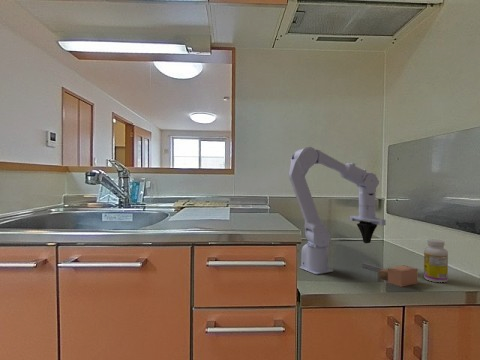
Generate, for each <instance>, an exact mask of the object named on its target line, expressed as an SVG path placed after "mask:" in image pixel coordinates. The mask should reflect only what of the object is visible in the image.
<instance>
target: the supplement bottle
mask: <svg viewBox="0 0 480 360" xmlns="http://www.w3.org/2000/svg"><path fill="white" fill-rule="evenodd" d="M427 245H428V246H427V247H426V248H424V250H423V255H424V256H423V260H424V261H423V268H424V269H423V274H424V275H423V278H424V279H425V280H427V281H428V280H429V281H428V282H431V281H432V283H437V282H439V283H440V282H441V284H442V282H444V283H446V282H448V280H449V264H448V263H449V252H448V250H447V249H446V248H445V241H444V240H442V239H441V240H440V239H431V238H430V239H427ZM439 283H438V284H439Z"/></svg>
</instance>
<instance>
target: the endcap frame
mask: <svg viewBox="0 0 480 360" xmlns="http://www.w3.org/2000/svg"><path fill="white" fill-rule="evenodd" d="M361 265H362V268H363V269H364V268H365V269H367V270H370V271H373V272H378V273H379V270H382V269H385V268H384V267H380V266H377V265H373V264H369V263H366V262H362V263H361ZM387 269H388V281H387V283H388V284H391V285H395V286H397V287H401V288H402V287H406V286H411V285H415V284H418V268H415V267H412V266H408V265H399V266H398V265H397V266H392V267H388V268H387Z"/></svg>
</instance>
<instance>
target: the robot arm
mask: <svg viewBox="0 0 480 360" xmlns="http://www.w3.org/2000/svg"><path fill="white" fill-rule="evenodd" d="M318 164H319V165H323V166H324V167H327V168H329V169H331V170H334V171H336V172H338V173H339V175H340V177H341V178H342V179H345V180H347V181H349V182H351V183H353V184H355V185H356V187H358V215H350V216H349V217H350V218H349V219H350V220H349V221H350V222H358V223H356V226H357V228H358V229H359V231H360V233H361V238H362V241H363V243H364V244H370V243H371V240H372V239H373V234H374V232H375V230H376V229H377V227H378V225H379V226H381V227H382V226H386V219H383V218H380V217H379V218H378V217H377V216H376V193H377V188H378V186H379V184H380V180H379V178H378V177H377V175H376V173H373V172H368V171H367V169H365V168H363V169H362V168H360V167H358V166H357V165H356V163H355V162H347V163H345V164H344V163H343V162H340V161H339V160H338V159H335V158H334V157H332V156H330V155H328V154H327V153H325V152H323V151H321V150H319V149H315V148H314V147H311V146H307V147H304V148H299V149H296V150H295V151H294V152H293V154H292V156H291V157H290V166H289V170H288V171H289V172H288V177H289V181H290V184H291V186H292V188H293V191H294V195H295V198H296V200H297V203H298V206H299V208H300V212H301V214H302V217H303V220H304V223H303V224H304V226H303V227H304V229H305V230H304V231H305V233H304V237H305V239H306V240H307V243H305V244H304V245H303V246H302V247H301V252H300V253H301V257H300V258H301V263H300V264H301V266H299V269H301V270H304V271H307V272H308V273H311V274H314V275H322V274H326V273H333V272H334V270H333V269H331V268H329V258H328V257H329V244H330V243H331V239H332V235H331V233H330V232H329V230H327V228H326V227H325V224H324V222H323V221H322V220H321V219H320V216H319V213H318V210H317V208H316V205H315V203H314V199H313V197H312V194H311V190H310V187H309V185H308V182H307V179H306V175H307V173H308V172H309V169H311V168H312V167H313V166H314V165H318Z"/></svg>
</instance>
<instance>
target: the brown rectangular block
mask: <svg viewBox="0 0 480 360" xmlns="http://www.w3.org/2000/svg"><path fill="white" fill-rule="evenodd" d="M378 279H380V280H382V281H385V282H388V268H387V267H386V268H384V269H382V270H379V272H378Z"/></svg>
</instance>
